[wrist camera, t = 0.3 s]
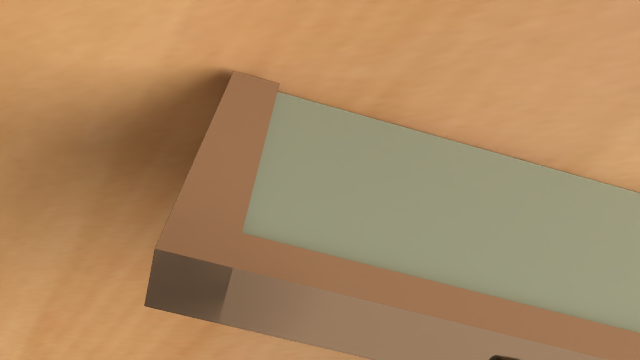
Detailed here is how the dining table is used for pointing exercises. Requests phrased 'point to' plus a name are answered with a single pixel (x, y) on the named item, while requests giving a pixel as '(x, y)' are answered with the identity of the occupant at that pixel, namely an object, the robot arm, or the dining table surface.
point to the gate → (394, 240)
